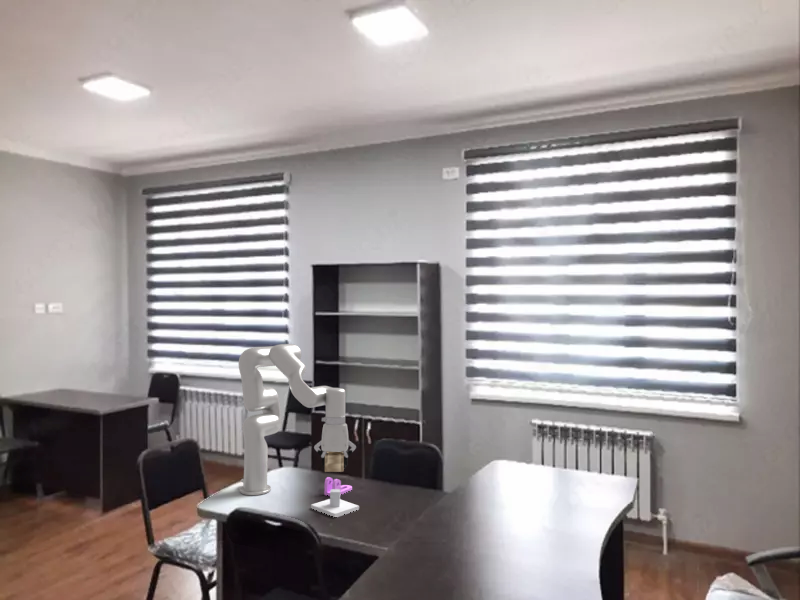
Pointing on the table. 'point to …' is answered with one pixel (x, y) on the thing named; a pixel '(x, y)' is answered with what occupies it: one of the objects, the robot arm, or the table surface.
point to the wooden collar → (334, 462)
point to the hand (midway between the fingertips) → (334, 467)
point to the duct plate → (335, 510)
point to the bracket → (335, 486)
